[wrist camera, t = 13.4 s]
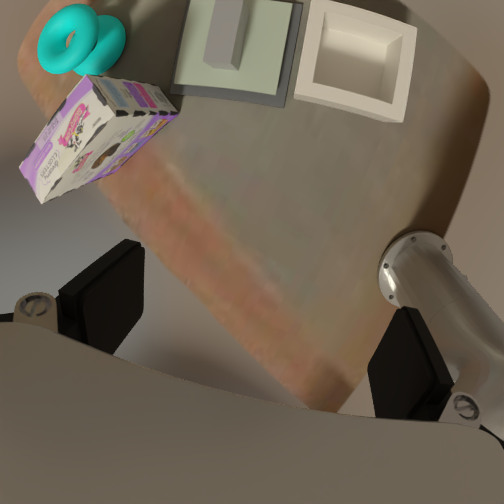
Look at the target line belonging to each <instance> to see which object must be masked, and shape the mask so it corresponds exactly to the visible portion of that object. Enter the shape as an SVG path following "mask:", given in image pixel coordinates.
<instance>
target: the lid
mask: <svg viewBox="0 0 504 504" xmlns="http://www.w3.org/2000/svg"><path fill="white" fill-rule="evenodd" d="M292 6H293V3H286V2H279V1H272V0H191V1H190V5H189V10H188V14H187V18H186V23H185V27H184V32H183V37H182V41H181V46H180V51H179V57H178V62H177V68H176V73H175V79H174V84H182V85H196V86H208V87H218V88H228V89H236V90H243V91H251V92H257V93H264V94H270V95H276V93H277V88H278V82H279V77H280V71H281V66H282V60H283V55H284V49H285V44H286V39H287V33H288V28H289V22H290V17H291V12H292Z"/></svg>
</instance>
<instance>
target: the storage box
mask: <svg viewBox="0 0 504 504" xmlns="http://www.w3.org/2000/svg"><path fill="white" fill-rule="evenodd" d="M416 34H417V28H416V27H413V26H411V25H408V24H406V23H403V22H400V21H398V20H395V19H392V18H389V17H386V16H383V15H380V14H377V13H374V12H371V11H368V10H365V9H361V8H358V7H354V6H350V5H347V4H343V3H339V2H334V1H330V0H311V5H310V11H309V17H308V22H307V28H306V33H305V39H304V44H303V50H302V55H301V61H300V66H299V71H298V77H297V82H296V88H295V93H294V99H298V100H303V101H307V102H312V103H316V104H321V105H325V106H329V107H333V108H337V109H341V110H345V111H349V112H352V113H356V114H360V115H363V116H367V117H370V118H373V119H377V120H380V121H383V122H399V123H403V119H404V114H405V109H406V104H407V98H408V92H409V86H410V80H411V74H412V67H413V60H414V52H415V44H416Z"/></svg>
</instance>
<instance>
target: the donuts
mask: <svg viewBox="0 0 504 504" xmlns="http://www.w3.org/2000/svg"><path fill="white" fill-rule="evenodd" d="M74 30H75V33H74V35H73V37H72V39H71V41H70V44H69V47H68V48H66V40H67V38H68V36H69V34H70V33H71V32H72V31H74ZM97 38H98V41H97ZM96 41H97V45H96V47H95V48H94V50H93V51H92V49H93V47H94V45H95V43H96ZM125 41H126V33H125V29H124V26H123V24H122V23H121V22H120V21H119V20H118V19H117V18H115V17H113V16H110V15H99V16H97V14H96V12H95V11H94V10H93V9H92V8H91V7H90V6H88V5H85V4H72V5H69V6H66V7H64V8H62V9H61V10H59V11H58V12H57V13H56V14H54V15H53V16H52V17H51V19H50V20H49V21H48V22H47V24H46V25H45V27H44V29H43V31H42V33H41V35H40V38H39V42H38V48H37V53H38V59H39V62H40V64H41V66H42V67H43V68H44V69H45V70H46V71H48V72H50V73H53V74H62V73H66V72H69V71H71V70H74V71H75V72H76V73H77V74H79V75H82V76H85V74H90V75H99V74H102V73H104V72H105V71H107V70H108V69H109V68H111V67H112V66H113V65H114V64H115V63H116V61H117V60H118V59H119V57H120V55H121V54H122V51H123V49H124V46H125Z"/></svg>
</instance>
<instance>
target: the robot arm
mask: <svg viewBox="0 0 504 504" xmlns="http://www.w3.org/2000/svg"><path fill="white" fill-rule="evenodd" d="M412 237H413V238H412ZM411 238H412V239H411ZM144 260H145V249H144V247H141V243H140V242H136V241H133V240H129V239H124V240H123V241H121V242H120V243H119V244H117V245H116V246H115V247H113V248H112V249H111V250H109V251H108V252H107V253H105V254H104V255H103V256H101V257H100V258H99V259H97V260H96V261H95V262H93V263H92V264H91V265H90V266H88V267H87V268H86V269H84V270H83V271H82V272H81V273H79V274H78V275H77V276H75V277H74V278H73V279H72V280H71V281H69V282H68V283H67V284H66V285H64V286H63V287H62V288H61V289H59V290H58V292H59V295H58V296H57V297H56V298H54V297H53V296H51V295H50V294H47V293H43V292H34V293H29V294H27V295H25V296H23V297H22V298H20V299H19V300H18V301H17V303H16V305H15V309H14V313H7V314H0V504H504V323H503V321H502V320H501V319H500V318H499V317H498V315H497V314H496V313H495V312H494V311H493V310H492V308H491V307H490V306H489V305H488V304H487V302H486V301H485V300H484V299H483V298H482V296H481V295H480V294H479V293H478V292H477V291H476V289H475V288H474V287H473V286H472V285H471V284H470V283H469V281H468V279H467V276H465V275H462V274H461V273H460V271H459V270H458V269H457V268H456V267H455V266H454V265H453V257H452V254H451V250H450V248H449V246H448V245H447V243H446V242H445V241H444V240H443V239H442V238H441V237H440V236H438V235H437V234H435V233H433V232H429V231H422V230H419V231H413V232H410V233H407V234H405V235H403V236H401V237H399V238H398V239H397V240H395V241H394V242H393V243H392V244H391V245H390V246H389V247H388V248H387V250H386V251H385V253H384V254H383V256H382V258H381V261H380V263H379V267H378V276H377V279H378V284H379V287H380V290H381V292H382V294H383V296H384V297H385V298H386V299H387V300H388V301H389V302H390V303H392V304H393V305H395V306H398V307H401V309H397V310H396V312H395V314H394V316H393V318H392V320H391V322H390V324H389V326H388V328H387V330H386V332H385V334H384V336H383V338H382V340H381V341H380V343H379V345H378V347H377V349H376V351H375V353H374V354H373V356H372V358H371V360H370V362H369V364H368V369H367V371H368V377H369V382H370V387H371V393H372V398H373V404H374V409H375V416H376V418H375V417H364V416H355V415H346V414H339V413H332V412H325V411H318V410H312V409H306V408H300V407H294V406H289V405H283V404H278V403H273V402H268V401H264V400H259V399H254V398H250V397H246V396H242V395H237V394H233V393H229V392H225V391H222V390H218V389H214V388H210V387H207V386H203V385H199V384H196V383H193V382H189V381H186V380H183V379H179V378H176V377H173V376H170V375H167V374H164V373H160V372H157V371H154V370H152V369H148V368H146V367H143V366H140V365H137V364H135V363H131V362H129V361H126V360H124V359H121V358H118V357H116V356H113V354H114V352H115V351H116V350H117V348H118V347H119V345H120V344H121V343H122V341H123V340H124V339H125V337H126V336H127V335H128V333H129V332H130V331H131V329H132V328H133V327H134V325H135V324H136V323H137V321H138V320H139V319H140V318H141V316H142V313H143V307H144ZM385 263H386V264H385ZM453 381H456V382H455V383H454V382H453Z"/></svg>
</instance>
